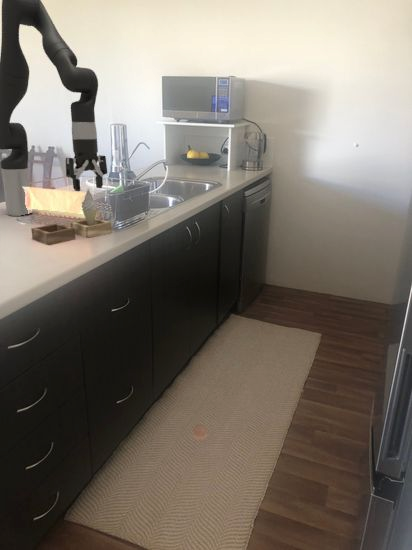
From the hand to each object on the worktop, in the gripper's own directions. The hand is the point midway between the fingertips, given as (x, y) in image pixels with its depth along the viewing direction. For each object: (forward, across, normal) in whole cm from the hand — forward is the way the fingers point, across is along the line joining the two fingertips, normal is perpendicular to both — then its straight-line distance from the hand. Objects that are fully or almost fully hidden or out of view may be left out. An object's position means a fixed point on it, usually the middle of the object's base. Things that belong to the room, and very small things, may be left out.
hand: (88, 189), depth 140 cm
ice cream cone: (+15, 0, 0) cm, 15 cm away
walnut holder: (+15, +13, -2) cm, 20 cm away
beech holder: (+15, 0, 0) cm, 15 cm away
